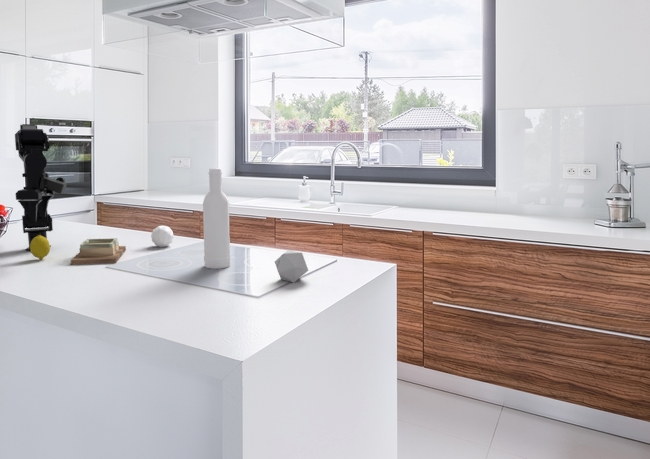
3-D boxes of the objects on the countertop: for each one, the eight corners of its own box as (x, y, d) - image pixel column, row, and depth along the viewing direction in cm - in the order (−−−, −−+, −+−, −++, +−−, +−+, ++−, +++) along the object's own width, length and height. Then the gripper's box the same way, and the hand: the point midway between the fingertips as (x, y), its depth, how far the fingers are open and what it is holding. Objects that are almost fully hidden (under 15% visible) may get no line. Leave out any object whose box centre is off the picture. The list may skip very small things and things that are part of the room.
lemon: (42, 262, 163) (40, 236, 162) (27, 261, 164) (25, 236, 163) (54, 258, 169) (52, 233, 167) (39, 257, 170) (37, 233, 168)
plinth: (86, 251, 179) (85, 236, 178) (125, 250, 182) (125, 235, 181) (71, 264, 160) (69, 248, 159) (115, 263, 163) (115, 246, 162)
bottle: (230, 268, 157) (228, 169, 152) (203, 269, 156) (200, 168, 151) (230, 262, 165) (228, 167, 160) (205, 263, 164) (202, 167, 159)
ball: (164, 254, 188) (160, 240, 182) (149, 244, 191) (144, 230, 185) (179, 242, 192) (176, 227, 187) (164, 232, 195) (160, 217, 190)
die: (282, 276, 151) (266, 253, 146) (309, 261, 151) (294, 237, 146) (288, 294, 144) (271, 270, 139) (316, 278, 144) (301, 254, 139)
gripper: (54, 171, 154) (58, 223, 157) (70, 168, 172) (73, 215, 175) (12, 171, 152) (17, 224, 155) (33, 168, 170) (37, 215, 173)
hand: (38, 219), depth 164 cm, fingers open, 9 cm apart
